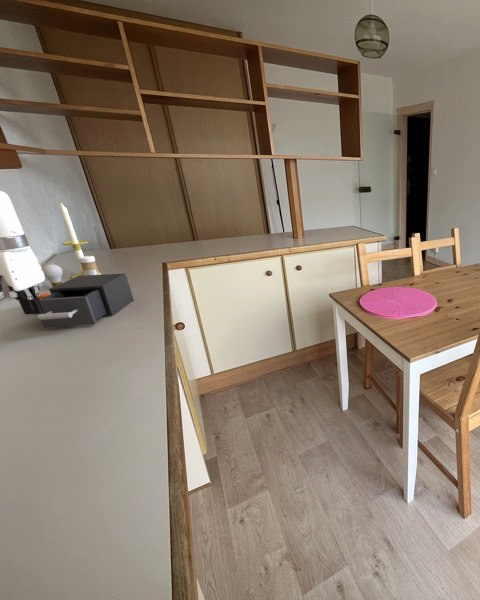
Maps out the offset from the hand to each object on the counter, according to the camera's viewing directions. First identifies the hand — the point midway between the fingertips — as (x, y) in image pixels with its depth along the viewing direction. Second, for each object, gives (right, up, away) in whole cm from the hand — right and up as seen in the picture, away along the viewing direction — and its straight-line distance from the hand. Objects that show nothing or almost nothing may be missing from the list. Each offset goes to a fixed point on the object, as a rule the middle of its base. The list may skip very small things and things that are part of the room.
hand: (35, 312), depth 82 cm
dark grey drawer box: (-7, 0, +26) cm, 27 cm away
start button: (-26, +4, +25) cm, 37 cm away
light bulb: (-43, +8, +45) cm, 62 cm away
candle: (-47, +14, +61) cm, 78 cm away
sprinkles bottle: (-27, +8, +45) cm, 53 cm away
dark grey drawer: (-4, -3, +16) cm, 17 cm away
